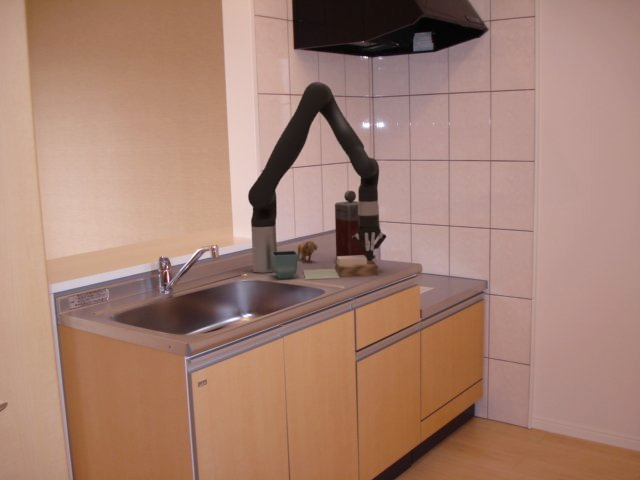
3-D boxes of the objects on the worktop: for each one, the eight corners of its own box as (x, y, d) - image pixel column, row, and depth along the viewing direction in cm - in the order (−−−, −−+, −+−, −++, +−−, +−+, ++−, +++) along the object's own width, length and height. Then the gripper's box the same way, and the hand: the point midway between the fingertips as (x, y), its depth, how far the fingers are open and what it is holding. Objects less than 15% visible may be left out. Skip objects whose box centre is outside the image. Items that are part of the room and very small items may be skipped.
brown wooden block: (338, 277, 257) (338, 267, 257) (335, 270, 269) (335, 261, 269) (377, 275, 259) (377, 265, 258) (372, 268, 270) (372, 259, 270)
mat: (305, 279, 255) (305, 279, 254) (303, 271, 270) (302, 270, 270) (339, 278, 256) (339, 277, 255) (334, 269, 271) (334, 268, 271)
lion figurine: (319, 262, 286) (319, 240, 284) (308, 264, 283) (307, 242, 282) (301, 257, 298) (300, 236, 297) (290, 259, 295) (289, 237, 294)
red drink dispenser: (349, 256, 297) (348, 188, 292) (367, 260, 288) (366, 190, 283) (332, 259, 291) (330, 190, 287) (349, 263, 283) (348, 192, 278)
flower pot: (295, 274, 265) (294, 250, 264) (299, 279, 256) (298, 254, 255) (271, 275, 263) (270, 251, 262) (274, 280, 255) (273, 255, 253)
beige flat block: (339, 266, 260) (339, 259, 259) (337, 263, 265) (336, 256, 265) (366, 264, 261) (366, 257, 260) (363, 261, 266) (363, 255, 266)
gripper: (351, 215, 257) (353, 263, 260) (388, 213, 258) (389, 261, 261) (349, 213, 264) (350, 259, 267) (384, 211, 265) (385, 257, 268)
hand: (369, 260), depth 264 cm, fingers closed
